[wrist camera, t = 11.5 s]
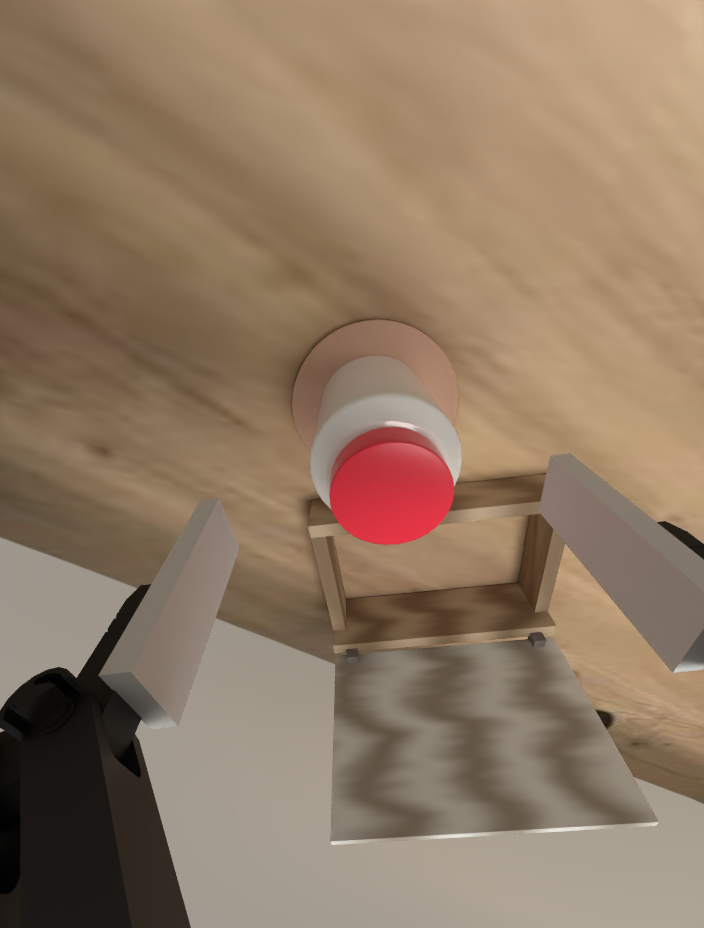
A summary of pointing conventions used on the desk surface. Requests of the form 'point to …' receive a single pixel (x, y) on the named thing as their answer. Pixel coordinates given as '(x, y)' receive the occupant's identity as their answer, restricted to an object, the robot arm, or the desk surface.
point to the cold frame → (466, 701)
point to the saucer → (368, 342)
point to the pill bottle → (384, 452)
